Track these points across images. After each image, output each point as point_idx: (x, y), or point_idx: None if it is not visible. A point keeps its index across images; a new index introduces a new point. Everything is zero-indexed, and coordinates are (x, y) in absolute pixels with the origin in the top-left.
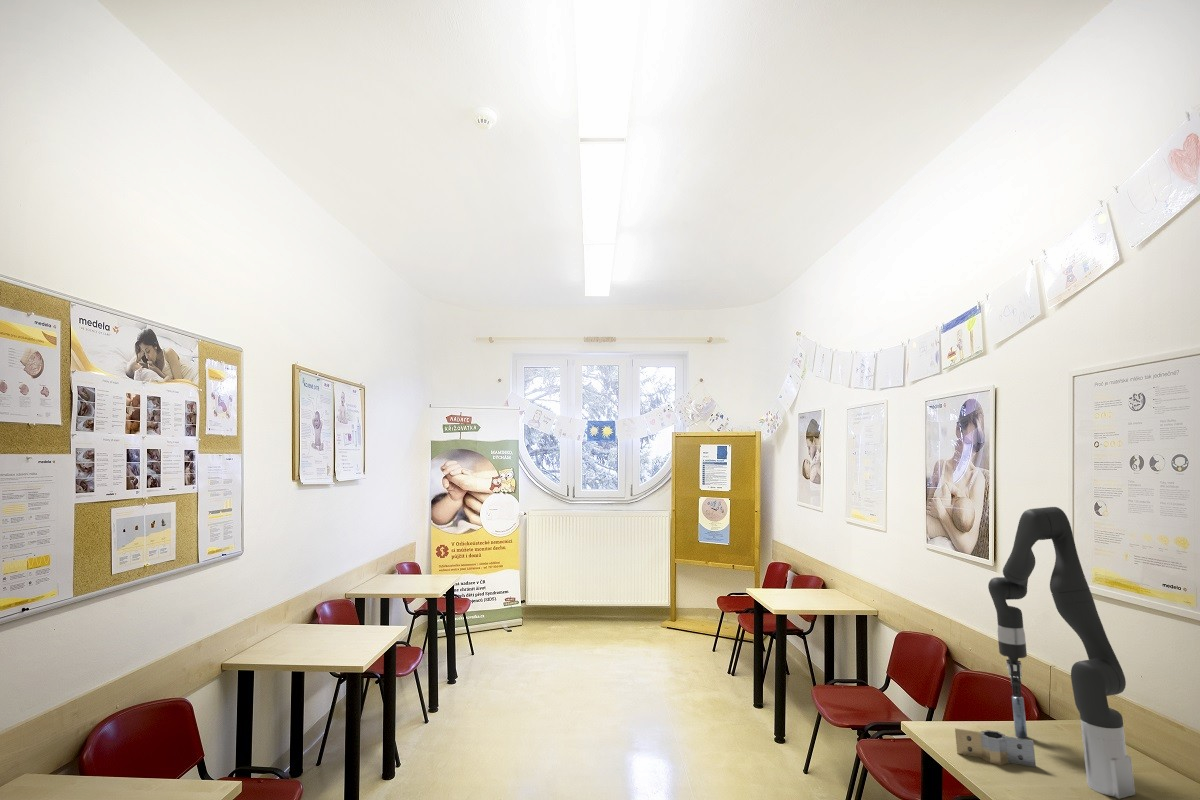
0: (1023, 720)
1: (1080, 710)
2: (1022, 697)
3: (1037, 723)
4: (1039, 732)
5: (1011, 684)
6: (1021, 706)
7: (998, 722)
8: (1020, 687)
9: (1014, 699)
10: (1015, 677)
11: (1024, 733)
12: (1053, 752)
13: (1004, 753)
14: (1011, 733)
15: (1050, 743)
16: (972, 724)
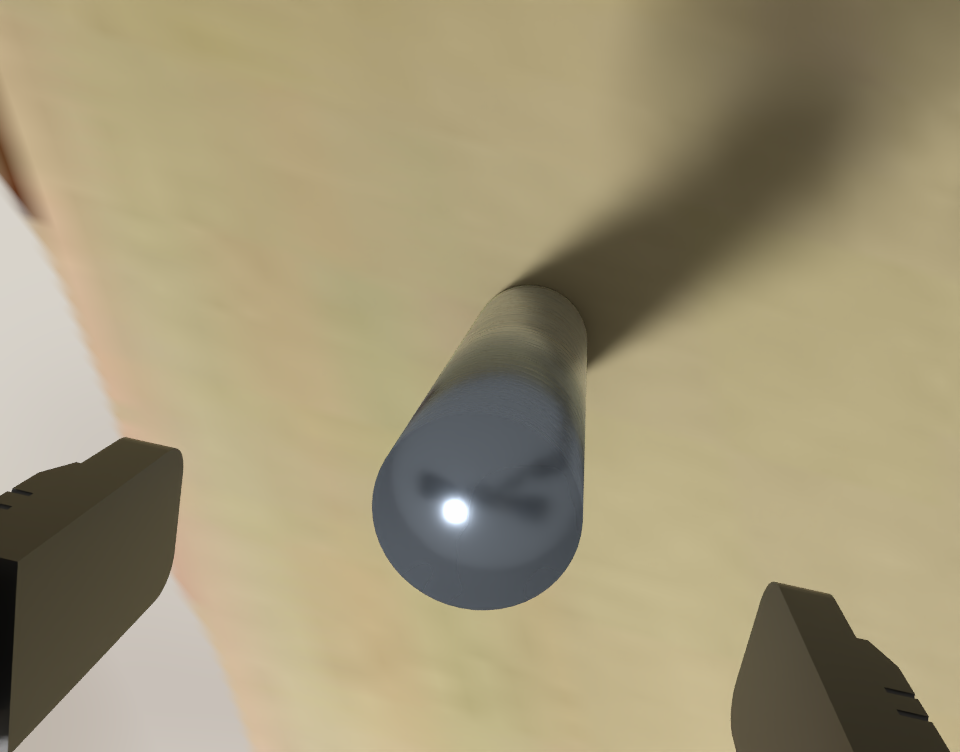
0: (580, 367)
1: None
2: (470, 426)
3: (62, 46)
4: (339, 104)
5: (140, 613)
6: (576, 436)
7: None
8: (906, 728)
9: (546, 574)
10: (35, 620)
11: (583, 333)
12: (916, 123)
13: None
14: None
15: (649, 77)
16: (307, 704)
